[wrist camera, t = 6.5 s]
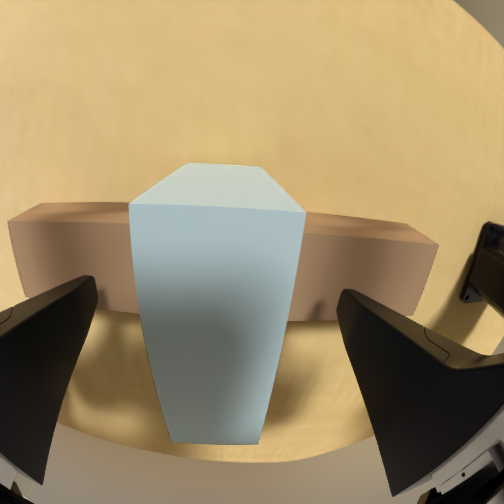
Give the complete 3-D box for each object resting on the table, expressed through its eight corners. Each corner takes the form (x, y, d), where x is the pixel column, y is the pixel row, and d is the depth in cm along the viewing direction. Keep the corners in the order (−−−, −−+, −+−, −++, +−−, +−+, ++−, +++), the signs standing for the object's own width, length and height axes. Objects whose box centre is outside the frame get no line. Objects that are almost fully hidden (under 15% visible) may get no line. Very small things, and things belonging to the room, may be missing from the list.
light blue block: (260, 166, 11) (306, 212, 5) (245, 324, 14) (258, 444, 8) (187, 162, 11) (128, 203, 4) (188, 322, 14) (171, 441, 7)
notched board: (406, 223, 13) (438, 244, 11) (387, 286, 15) (412, 315, 12) (40, 203, 11) (7, 221, 8) (51, 269, 13) (25, 296, 10)
